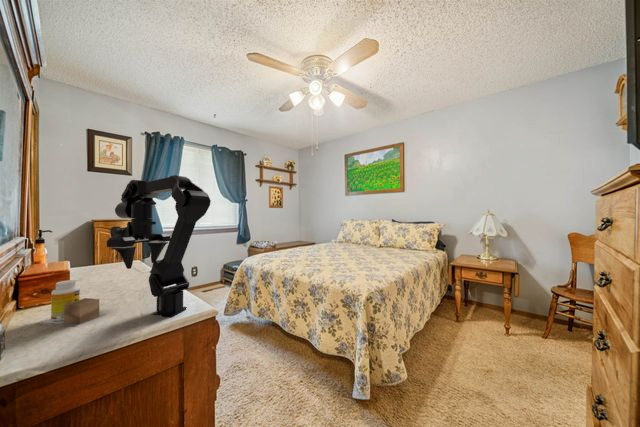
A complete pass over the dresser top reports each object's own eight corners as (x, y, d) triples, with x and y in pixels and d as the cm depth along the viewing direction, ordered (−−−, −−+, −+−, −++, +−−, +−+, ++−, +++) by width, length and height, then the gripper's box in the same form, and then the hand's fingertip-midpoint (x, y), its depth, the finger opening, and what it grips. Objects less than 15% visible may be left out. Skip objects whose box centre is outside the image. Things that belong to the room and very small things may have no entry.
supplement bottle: (77, 318, 68) (78, 282, 68) (48, 323, 65) (49, 285, 65) (80, 312, 73) (80, 278, 73) (53, 317, 69) (53, 281, 69)
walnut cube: (99, 316, 70) (99, 299, 70) (79, 323, 65) (79, 305, 65) (84, 315, 71) (84, 298, 71) (64, 322, 66) (64, 304, 66)
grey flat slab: (106, 315, 71) (106, 314, 71) (74, 328, 63) (74, 326, 63) (71, 313, 73) (71, 311, 73) (37, 325, 65) (37, 323, 65)
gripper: (145, 218, 90) (144, 259, 90) (90, 219, 72) (90, 271, 72) (171, 218, 89) (171, 260, 89) (123, 219, 70) (123, 272, 70)
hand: (141, 265), depth 80 cm, fingers open, 9 cm apart
